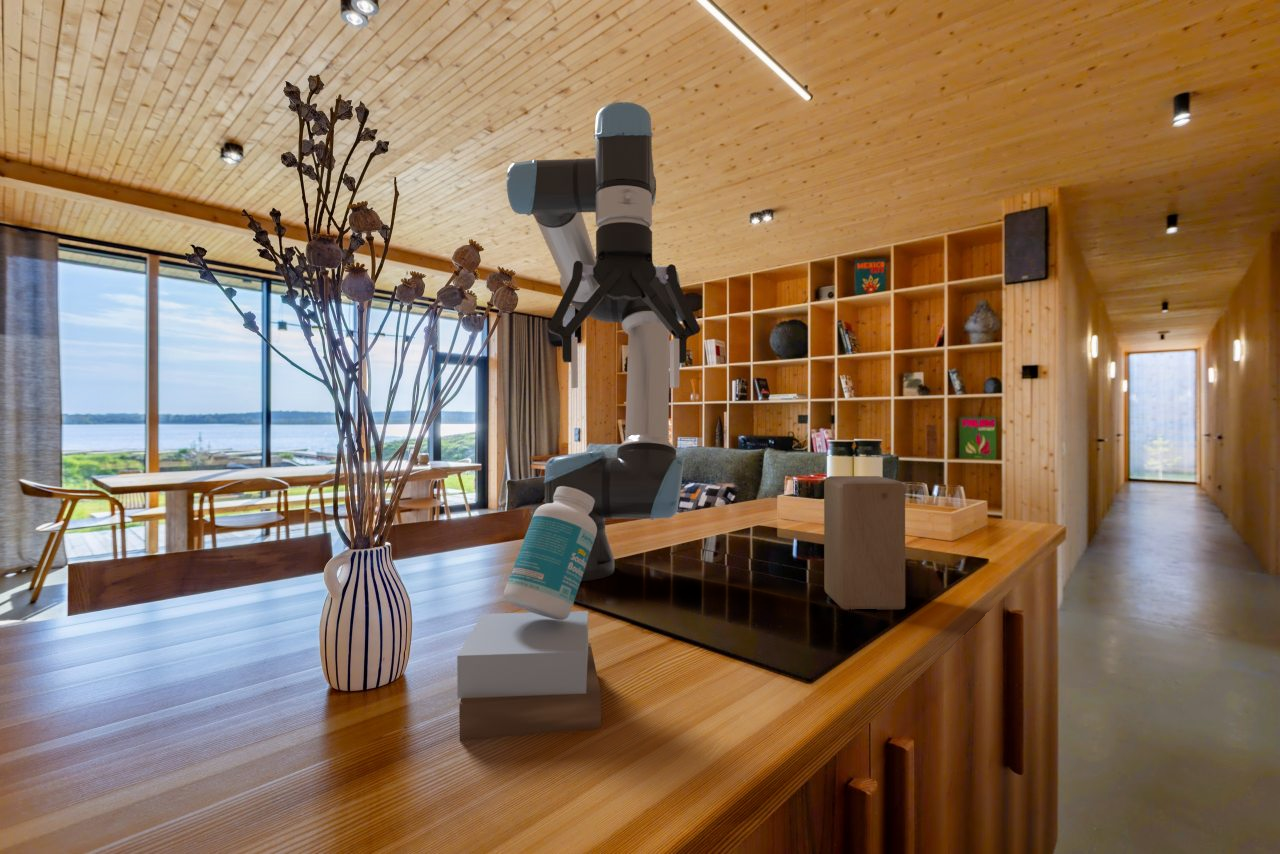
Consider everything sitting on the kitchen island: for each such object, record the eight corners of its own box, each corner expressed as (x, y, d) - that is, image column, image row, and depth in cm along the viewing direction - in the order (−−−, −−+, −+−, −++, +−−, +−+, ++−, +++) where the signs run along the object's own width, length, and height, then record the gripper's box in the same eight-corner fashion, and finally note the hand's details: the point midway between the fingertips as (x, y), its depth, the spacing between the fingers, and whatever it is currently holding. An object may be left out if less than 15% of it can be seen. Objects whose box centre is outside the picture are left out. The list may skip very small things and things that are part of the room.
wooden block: (908, 613, 89) (907, 481, 89) (841, 612, 89) (841, 481, 89) (882, 593, 99) (882, 475, 99) (822, 593, 99) (822, 475, 99)
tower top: (482, 648, 67) (482, 613, 67) (588, 645, 68) (588, 611, 68) (457, 698, 55) (457, 655, 55) (586, 693, 56) (586, 651, 56)
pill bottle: (565, 618, 58) (606, 494, 64) (495, 596, 59) (542, 474, 64) (569, 624, 65) (606, 512, 71) (506, 604, 66) (547, 494, 71)
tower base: (476, 685, 67) (475, 649, 67) (590, 676, 69) (590, 642, 69) (459, 747, 54) (459, 704, 54) (601, 735, 56) (600, 693, 56)
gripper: (528, 214, 73) (530, 386, 73) (722, 223, 77) (722, 386, 77) (529, 232, 80) (531, 388, 80) (706, 240, 84) (707, 388, 85)
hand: (625, 387), depth 79 cm, fingers open, 13 cm apart
